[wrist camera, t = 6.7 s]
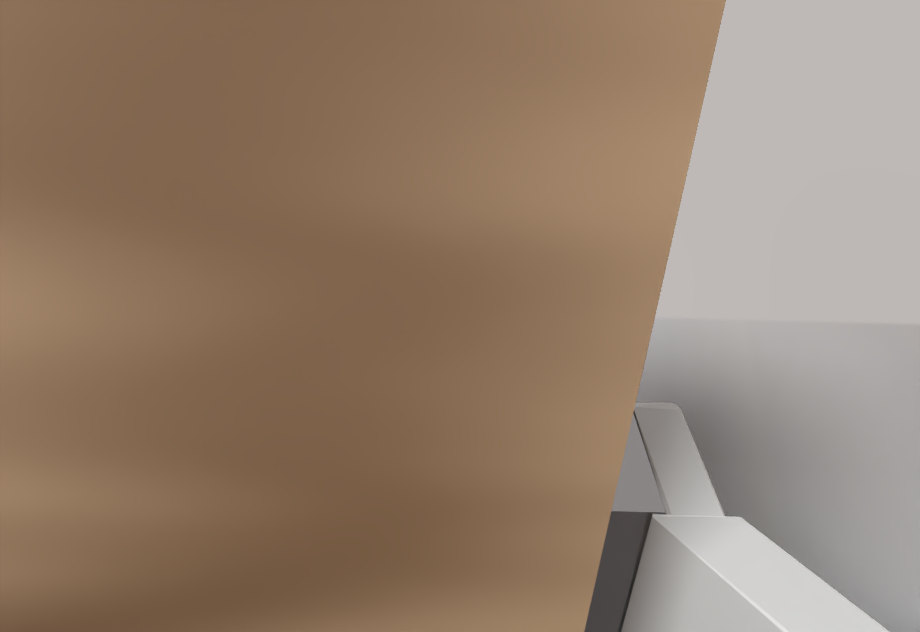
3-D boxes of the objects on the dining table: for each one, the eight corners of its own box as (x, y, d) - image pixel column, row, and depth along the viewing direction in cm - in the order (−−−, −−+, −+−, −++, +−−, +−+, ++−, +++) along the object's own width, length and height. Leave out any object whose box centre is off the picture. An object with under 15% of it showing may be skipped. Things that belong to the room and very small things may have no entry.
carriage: (89, 1019, 9) (-699, -510, 2) (196, 654, 12) (12, -306, 6) (779, 1017, 9) (1749, -304, 3) (680, 662, 13) (980, -233, 6)
